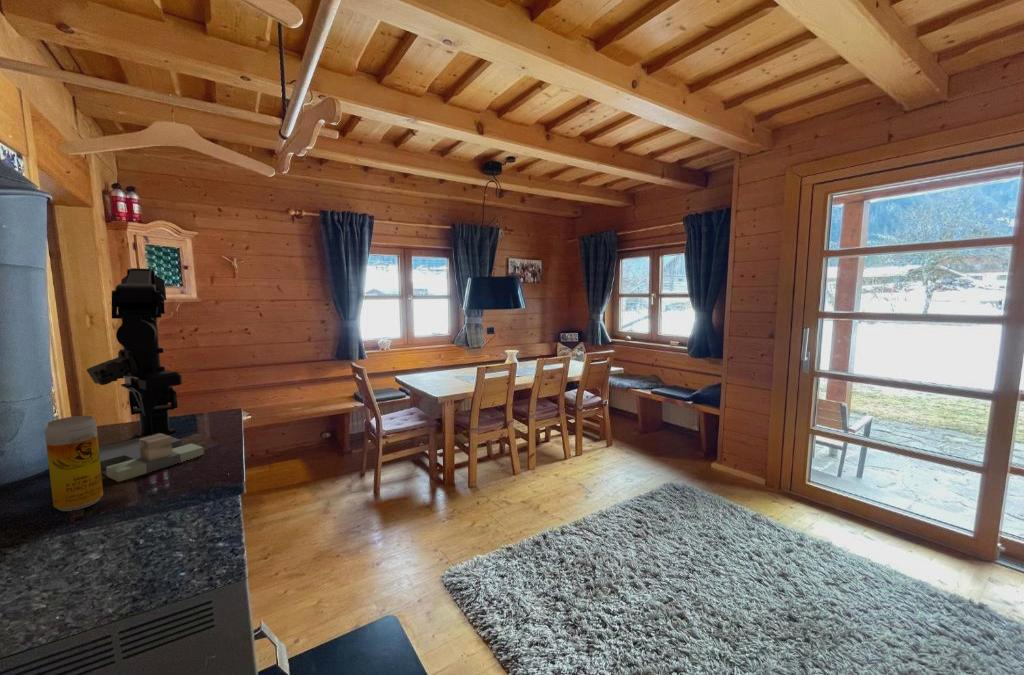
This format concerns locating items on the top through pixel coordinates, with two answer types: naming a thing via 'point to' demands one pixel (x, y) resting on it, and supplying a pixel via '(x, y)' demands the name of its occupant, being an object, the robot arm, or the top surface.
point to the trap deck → (128, 463)
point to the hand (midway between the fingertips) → (147, 415)
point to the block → (155, 447)
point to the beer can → (74, 462)
